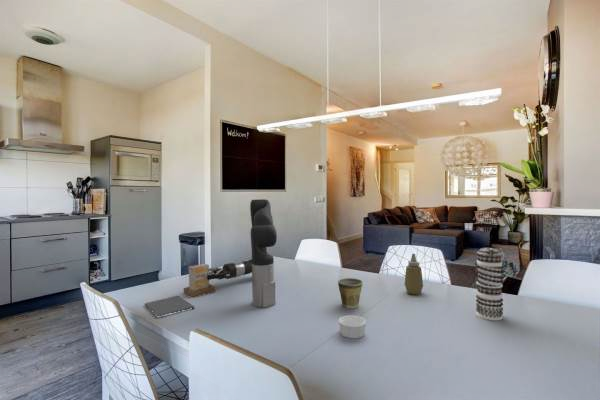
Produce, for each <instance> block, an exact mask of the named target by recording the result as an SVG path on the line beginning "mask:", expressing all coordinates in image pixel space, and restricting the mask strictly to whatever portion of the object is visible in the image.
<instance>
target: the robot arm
mask: <svg viewBox="0 0 600 400" xmlns="http://www.w3.org/2000/svg"><path fill="white" fill-rule="evenodd" d="M249 204H250V205H249V208H250V209H249V211H250V221H251V222H250V223H251V228H250V245H251V259H249V260H242V261H235V262H229V263H225V264H223V266H222V268H221V267H212V268H209V275H207V280H209V281H211V280H219V281H220V280H224V279H225V280H228V279H234V278H238V277H242V276H245V275H250V274H251V289H252V290H251V291H252V293H251V294H252V296H251V297H252V305H253V307H256V308H257V307H258V308H264V309H265V308H267V307H272V306H274V305H276V282H275V275H274V274H275V270H274V269H275V267H274V266H275V264H274V263H275V259H274V256H273V255H271V254H268V251H267V248H272V247H274V246H275V245H276V243H277V240H278V239H277V238H278V236H277V230H276V227H275V225H274V222H273V221H274V219H273V216H272V212H271V203H270V201H269V199H266V198H264V199H252V200H251V201H250V203H249Z"/></svg>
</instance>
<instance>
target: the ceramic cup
mask: <svg viewBox="0 0 600 400" xmlns="http://www.w3.org/2000/svg"><path fill="white" fill-rule="evenodd" d="M337 284H338V290H339V293H340V299H341V304H342V307H344V308H346V309H356V308H358V307H359V303H360V298H361V293H362V288H363V281H362V279H359V278H353V277H352V278H350V277H348V278H347V277H346V278H340V279H338V281H337Z"/></svg>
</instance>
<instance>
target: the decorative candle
mask: <svg viewBox="0 0 600 400" xmlns="http://www.w3.org/2000/svg"><path fill="white" fill-rule="evenodd" d="M476 254H477V259H476V262H475V263H474V266H475V268H474V269H475V276H476V277H475V284H477V290H476V295H475V297H476V300H475V302H476V304H475V307H476V316H477V317H479V318H482V319H484V318H485V320H488V319H489V321H501V320H503V319H504V317H503V315H504V312H503V310H504V308H503V307H502V306H504V303H503V301H504V299H503V293H502V288H503V286H504V284H503V283H504V280H503V279H504V278H505V277H504V276H503V275H502V274H503V273H505V271H504V269H505V267H504V266H503V262H502V255H503V253H501V252H500V251H499V250H498V249H497V248H493V247H481V248H479V250H477V251H476Z"/></svg>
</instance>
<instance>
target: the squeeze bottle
mask: <svg viewBox="0 0 600 400" xmlns="http://www.w3.org/2000/svg"><path fill="white" fill-rule="evenodd" d="M407 264H408V265H407V266H406V267H405V274H404V277H405V278H404V286H405V290H406V292H407V293H408V294H410V295H420V294H421V293H422V290H423V287H424V282H423V273H422V267H421V266H420V262H419V261H417V256H416V254H415V253H412V254H411V258H410V260H409V261H408V262H407Z"/></svg>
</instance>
